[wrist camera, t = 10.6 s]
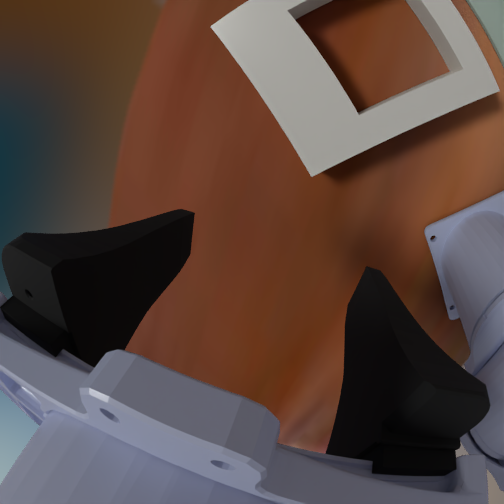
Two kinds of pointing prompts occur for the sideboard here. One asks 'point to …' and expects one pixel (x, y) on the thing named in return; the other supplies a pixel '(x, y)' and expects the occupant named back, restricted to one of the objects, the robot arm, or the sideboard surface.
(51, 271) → the robot arm
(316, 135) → the bulb holder
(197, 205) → the sideboard surface
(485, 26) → the mat
